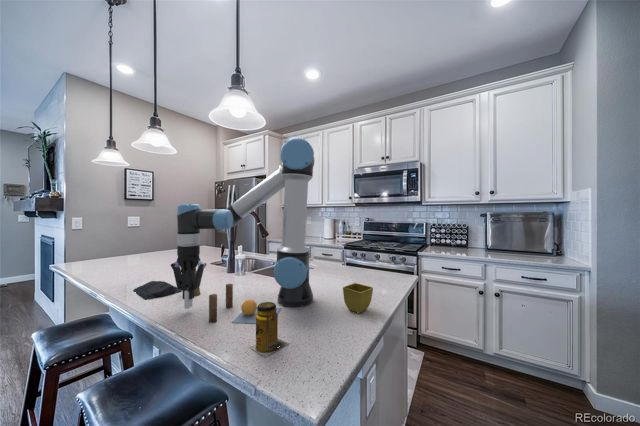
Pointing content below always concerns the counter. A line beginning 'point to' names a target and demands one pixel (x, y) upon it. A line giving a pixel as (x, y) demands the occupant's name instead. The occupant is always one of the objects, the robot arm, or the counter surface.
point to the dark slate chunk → (156, 290)
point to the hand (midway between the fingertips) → (188, 307)
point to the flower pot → (357, 296)
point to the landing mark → (249, 317)
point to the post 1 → (212, 308)
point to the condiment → (267, 330)
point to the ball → (248, 307)
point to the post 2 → (229, 295)
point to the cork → (196, 291)
